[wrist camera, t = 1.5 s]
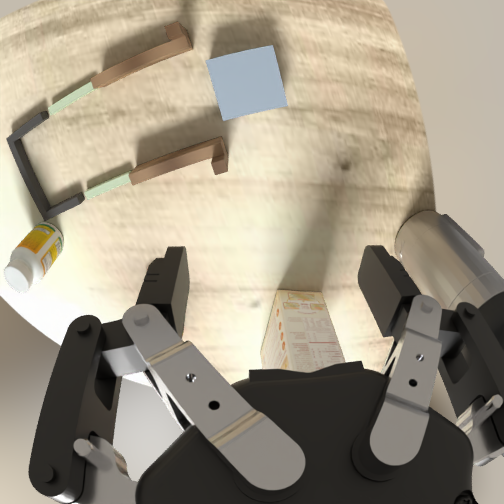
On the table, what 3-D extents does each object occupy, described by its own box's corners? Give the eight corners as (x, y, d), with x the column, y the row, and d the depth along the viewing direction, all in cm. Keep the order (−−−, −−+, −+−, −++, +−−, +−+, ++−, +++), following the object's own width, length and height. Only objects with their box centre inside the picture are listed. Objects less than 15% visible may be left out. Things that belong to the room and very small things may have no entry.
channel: (186, 29, 23) (177, 21, 18) (228, 156, 31) (227, 171, 27) (98, 68, 24) (77, 69, 19) (144, 185, 32) (131, 203, 28)
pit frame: (46, 110, 25) (40, 112, 24) (84, 199, 32) (80, 204, 31) (12, 135, 26) (6, 138, 25) (49, 216, 33) (44, 221, 31)
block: (267, 48, 25) (272, 45, 21) (281, 101, 28) (287, 105, 25) (209, 62, 25) (205, 60, 22) (224, 115, 28) (223, 120, 25)
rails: (95, 80, 24) (91, 81, 24) (134, 178, 31) (131, 181, 30) (52, 106, 25) (47, 108, 24) (90, 196, 32) (87, 199, 31)
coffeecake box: (298, 354, 50) (318, 455, 34) (258, 353, 49) (269, 459, 33) (324, 290, 42) (364, 411, 26) (276, 288, 41) (299, 417, 25)
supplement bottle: (71, 245, 35) (40, 291, 27) (49, 258, 36) (19, 302, 28) (49, 214, 32) (12, 255, 25) (28, 230, 33) (-7, 270, 25)
